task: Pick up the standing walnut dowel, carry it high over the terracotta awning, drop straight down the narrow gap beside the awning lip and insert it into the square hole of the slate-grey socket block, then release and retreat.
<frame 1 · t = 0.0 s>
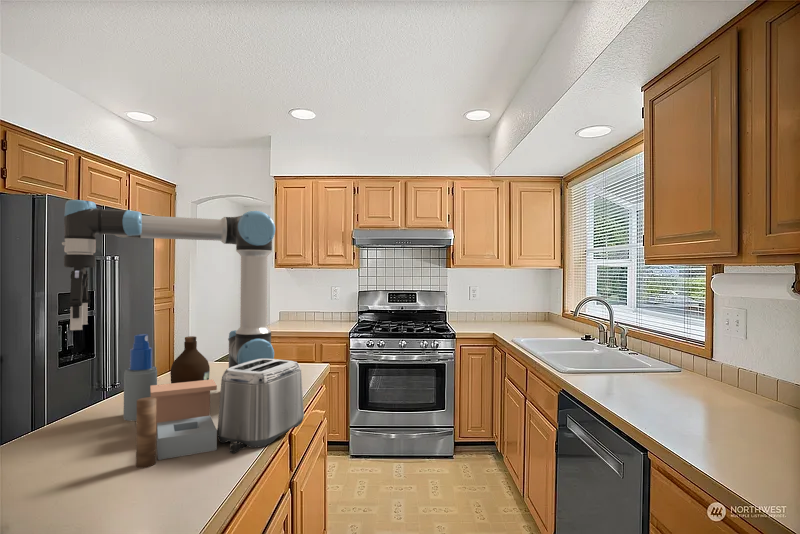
hand: (79, 327, 136), 28 cm above the countertop, fingers open, 13 cm apart
spray bottle: (140, 416, 143), on the countertop
peg: (146, 464, 108), on the countertop
toaster: (260, 434, 129), on the countertop
awning socket: (186, 445, 120), on the countertop
olive oil: (190, 422, 139), on the countertop
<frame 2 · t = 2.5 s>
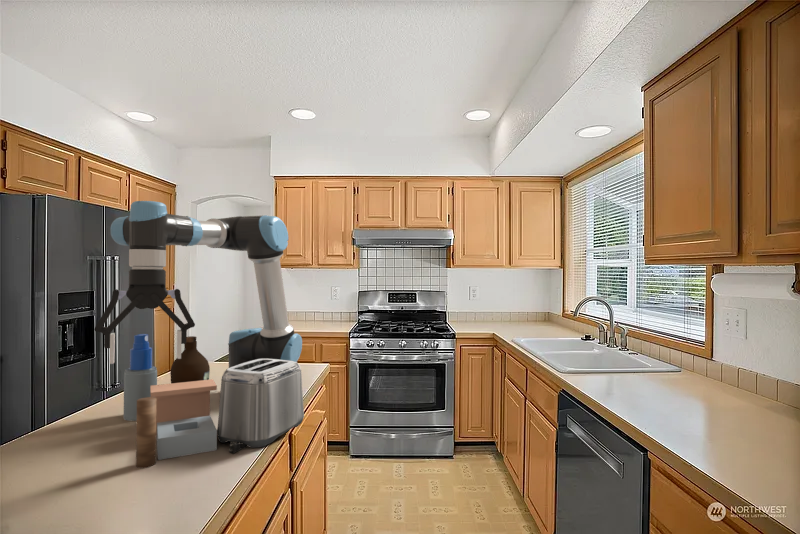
hand: (146, 360, 108), 24 cm above the countertop, fingers open, 13 cm apart
nothing on the countertop moved.
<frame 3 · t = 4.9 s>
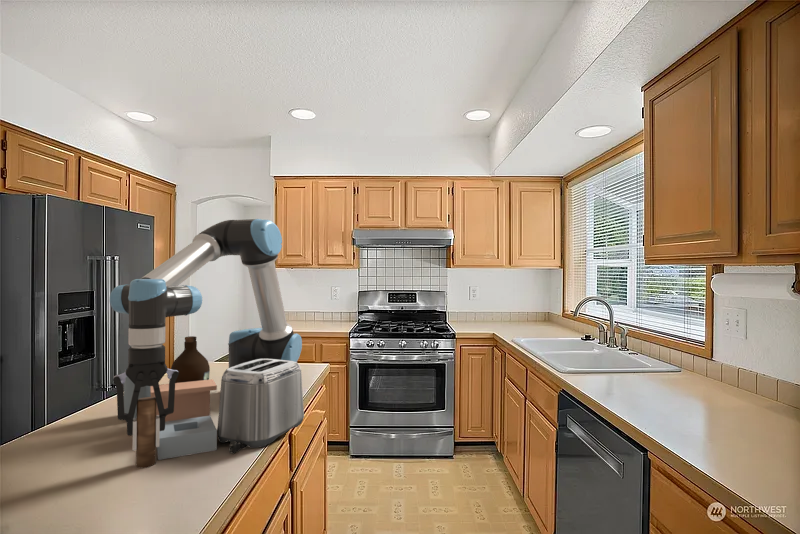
hand: (146, 446, 108), 4 cm above the countertop, fingers closed on peg, 4 cm apart
peg: (145, 464, 108), on the countertop, touching gripper
everything else where it was.
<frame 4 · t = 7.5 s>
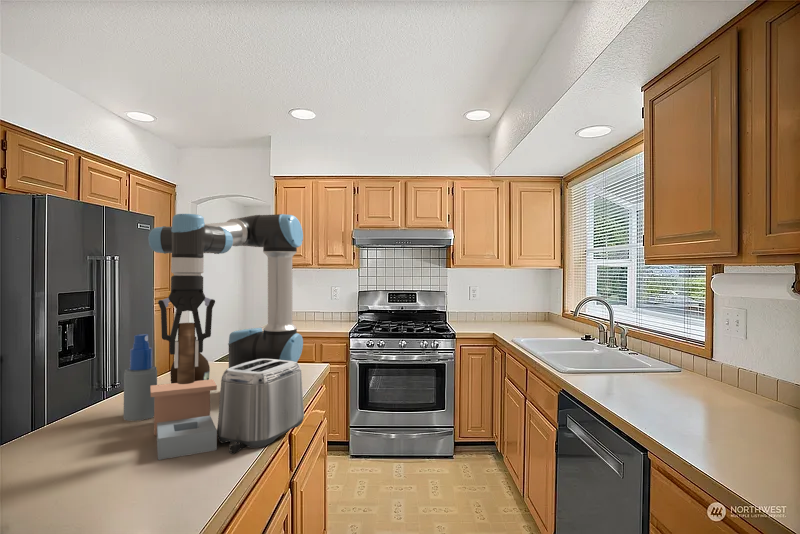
hand: (186, 366, 119), 20 cm above the countertop, fingers closed on peg, 4 cm apart
peg: (185, 382, 119), point 16 cm above the countertop, touching gripper
everything else where it was.
when the fingers open (6 cm above the countertop, at t = 10.3 s): peg drops 1 cm, resting in awning socket.
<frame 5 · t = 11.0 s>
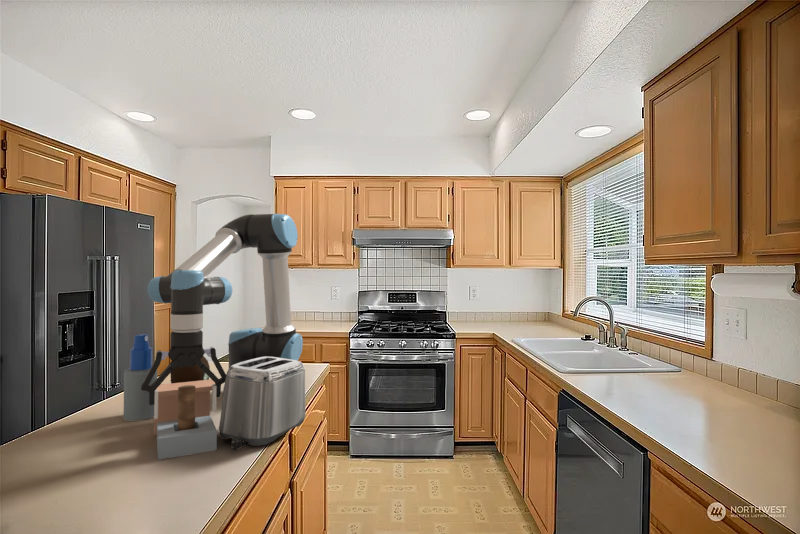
hand: (185, 413, 119), 8 cm above the countertop, fingers open, 13 cm apart
peg: (186, 445, 120), resting in awning socket
toaster: (261, 432, 129), on the countertop, touching gripper
everything else where it was.
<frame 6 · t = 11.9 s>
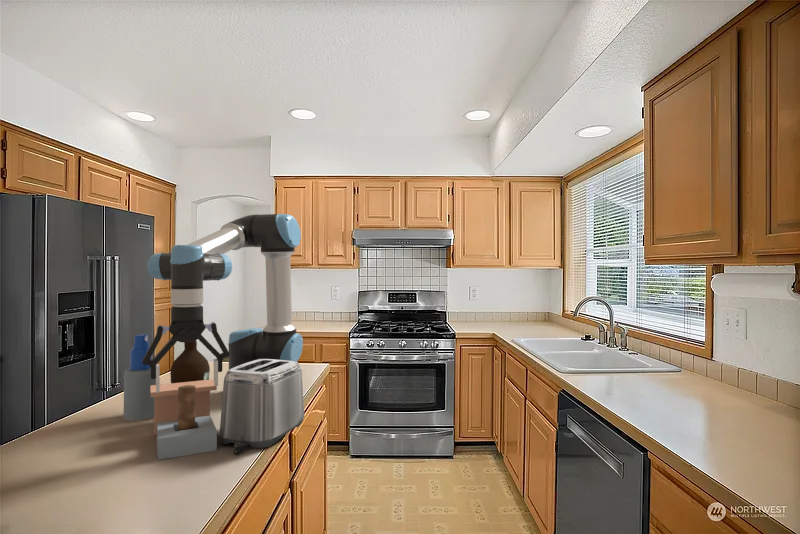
hand: (187, 388, 120), 15 cm above the countertop, fingers open, 13 cm apart
toaster: (261, 435, 128), on the countertop
everything else where it was.
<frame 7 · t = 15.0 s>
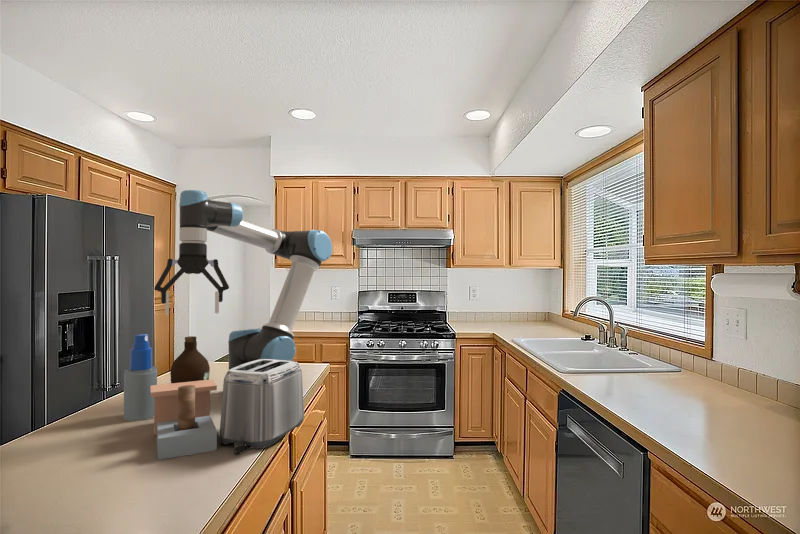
hand: (192, 314, 140), 32 cm above the countertop, fingers open, 13 cm apart
nothing on the countertop moved.
at the end: peg 0.0 cm off-centre on the awning socket, point 0.0 cm above the awning socket's base; peg tilted 0°; the gripper is holding nothing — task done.
